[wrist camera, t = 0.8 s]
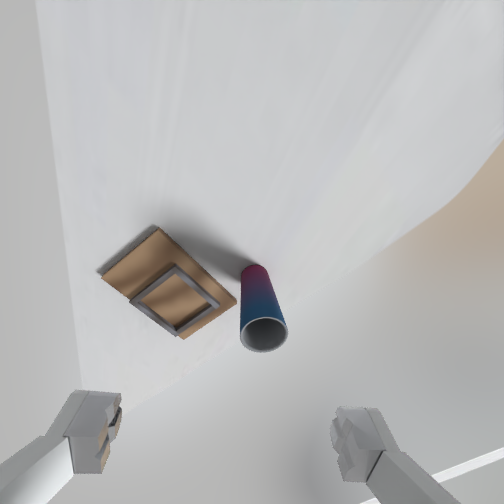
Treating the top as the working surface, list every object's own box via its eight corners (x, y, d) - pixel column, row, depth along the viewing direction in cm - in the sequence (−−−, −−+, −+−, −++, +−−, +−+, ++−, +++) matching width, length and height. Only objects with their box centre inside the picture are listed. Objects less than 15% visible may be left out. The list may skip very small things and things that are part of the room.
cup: (275, 262, 52) (293, 318, 38) (268, 292, 55) (282, 353, 42) (239, 258, 51) (243, 315, 37) (234, 289, 54) (236, 351, 41)
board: (103, 274, 50) (98, 281, 48) (159, 227, 46) (156, 233, 45) (184, 335, 58) (182, 343, 56) (236, 299, 55) (237, 306, 53)
